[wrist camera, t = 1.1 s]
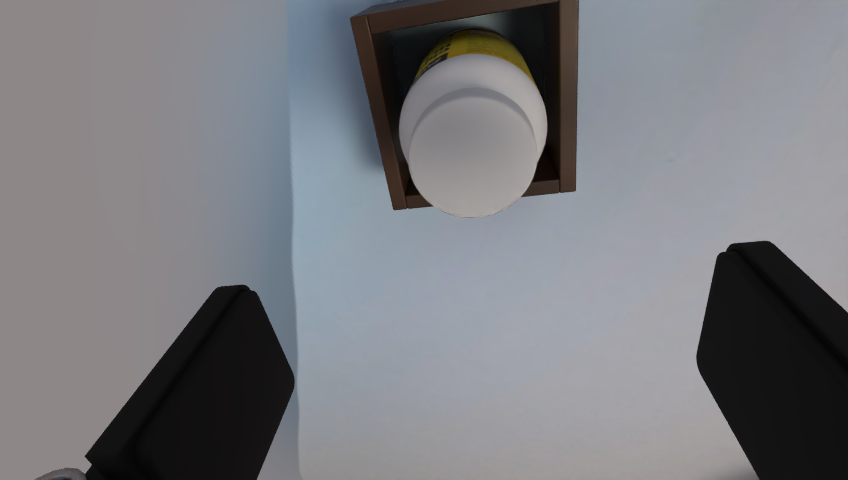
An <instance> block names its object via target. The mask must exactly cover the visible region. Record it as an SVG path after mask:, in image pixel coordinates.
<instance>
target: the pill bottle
mask: <svg viewBox="0 0 848 480" xmlns="http://www.w3.org/2000/svg"><path fill="white" fill-rule="evenodd" d="M546 136H547V116H546V110H545V106H544V103H543V100H542V97H541V95H540V92H539V90H538V88H537V86H536V84H535V82H534V80H533V77H532V75H531V73H530V71H529V69H528V67H527V64H526V62H525V60H524V58H523V56H522V55H521V53H520V52H519V50H518V49H517V47H516V46H515V45H514V44H513V43H512V42H511V41H510V40H509V39H507V38H506V37H504V36H503V35H501V34H500V33H498V32H496V31H493V30H490V29H486V28H480V27H470V28H463V29H459V30H456V31H454V32H451V33H449V34H448V35H446V36H444V37H443V38H441V39H440V40H439V41H438V42H437V43H435V44H434V45H433V47H432V48H431V49H430V50H429V51H428V53H427V54H426V56H425V57H424V59H423V61H422V63H421V65H420V67H419V70H418V72H417V74H416V77H415V79H414V81H413V83H412V85H411V87H410V90H409V92H408V94H407V96H406V98H405V100H404V103H403V105H402V110H401V115H400V122H399V137H400V143H401V147H402V151H403V154H404V156H405V159H406V161H407V163H408V166H409V171H410V175H411V178H412V180H413V183H414V185H415V186H416V188H417V190H418V191H419V193H420V194H421V195H422V196H423V197H424V198H425V199H426V200H427V201H428V202H429V203H430V204H431V205H433V206H434V207H436V208H437V209H439V210H441V211H443V212H445V213H448V214H450V215H454V216H459V217H467V218H476V217H484V216H489V215H492V214H495V213H497V212H500V211H502V210H504V209H506V208H507V207H509V206H511V205H512V204H513V203H515V202H516V201H517V200H518V199H519V198H520V197H521V196H522V195H523V194H524V192H525V191H526V190H527V188H528V187H529V185H530V183H531V181H532V179H533V177H534V174H535V170H536V166H537V162H538V160H539V158H540V156H541V154H542V151H543V149H544V145H545V141H546Z"/></svg>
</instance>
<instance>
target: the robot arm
mask: <svg viewBox="0 0 848 480" xmlns="http://www.w3.org/2000/svg"><path fill="white" fill-rule="evenodd" d="M696 358H697V366H698V369H699V372H700V374H701V376H702V378H703V379H704V381H705V383H706V385H707V387H708V388H709V390H710V392H711V394H712V395H713V397H714V399H715V401H716V403H717V404H718V406H719V408H720V410H721V412H722V413H723V415H724V417H725V419H726V420H727V422H728V424H729V426H730V428H731V429H732V431H733V433H734V435H735V437H736V438H737V440H738V442H739V444H740V445H741V447H742V449H743V451H744V453H745V454H746V456H747V458H748V460H749V461H750V463H751V465H752V467H753V469H754V470H755V472H756V474H757V476H758V478H759V479H760V480H848V312H846V311H845V310H844V309H843V308H842V307H841V306H840V305H839V304H838V303H837V302H836V301H835V300H833V299H832V298H831V297H830V296H829V295H828V294H827V293H826V292H825V291H824V290H823V289H822V288H821V287H819V286H818V285H817V284H816V283H815V282H814V281H813V280H812V279H811V278H810V277H809V276H808V275H807V274H805V273H804V272H803V271H802V270H801V269H800V268H799V267H798V266H797V265H796V264H795V263H794V262H792V261H791V260H790V259H789V258H788V257H787V256H786V255H785V254H784V253H783V252H782V251H781V250H780V249H778V248H777V247H776V246H775V245H774V244H773V243H771V242H770V241H757V242H745V243H733V244H731V245H730V246H729V247H728V248H727V250H726V252H721V253H719V255H718V256H717V259H716V264H715V269H714V273H713V278H712V283H711V288H710V292H709V297H708V302H707V307H706V312H705V316H704V321H703V326H702V331H701V336H700V340H699V345H698V350H697V356H696ZM294 383H295V381H294V375H293V372H292V370H291V368H290V365H289V363H288V361H287V359H286V356H285V354H284V352H283V350H282V348H281V345H280V343H279V341H278V339H277V336H276V334H275V332H274V330H273V328H272V325H271V323H270V321H269V319H268V316H267V314H266V312H265V310H264V307H263V305H262V303H261V301H260V298H259V296H258V295H257V293H256V292H255V291H251V290H250V289H249V287H247V286H246V285H234V286H222V287H218V288H216V289H215V290H214V291H213V292H212V294H211V295H210V296H209V298H208V299H207V300H206V301H205V303H204V304H203V305H202V307H201V308H200V309H199V310H198V312H197V313H196V314H195V316H194V317H193V318H192V319H191V321H190V322H189V323H188V324H187V326H186V327H185V328H184V330H183V331H182V332H181V333H180V335H179V336H178V337H177V339H176V340H175V341H174V343H173V344H172V345H171V346H170V347H169V349H168V350H167V351H166V353H165V354H164V355H163V357H162V358H161V359H160V360H159V362H158V363H157V364H156V366H155V367H154V368H153V369H152V371H151V372H150V373H149V374H148V376H147V377H146V379H145V380H144V381H143V382H142V383H141V385H140V386H139V387H138V389H137V390H136V391H135V392H134V394H133V395H132V396H131V398H130V399H129V400H128V401H127V403H126V404H125V405H124V407H123V408H122V409H121V411H120V412H119V413H118V414H117V416H116V417H115V418H114V419H113V421H112V422H111V423H110V424H109V426H108V427H107V428H106V430H105V431H104V432H103V433H102V435H101V436H100V437H99V439H98V440H97V441H96V442H95V444H94V445H93V446H92V448H91V449H90V450H89V451H88V453H87V454H86V455H85V457H86V458H87V460H88V461H89V462H90V463H91V464H92V466H91V467H90V469H89V470H88V471H87V472H86V474H84V473H83V472H81V471H80V470H79V469H74V468H64V469H59V470H55V471H52V472H50V473H48V474H45V475H43V476H41V477H39V478H37V479H35V480H257V477H258V475H259V473H260V470H261V468H262V465H263V463H264V460H265V458H266V456H267V453H268V450H269V448H270V446H271V443H272V441H273V438H274V436H275V434H276V431H277V429H278V426H279V424H280V422H281V419H282V416H283V414H284V412H285V409H286V407H287V404H288V402H289V400H290V397H291V395H292V392H293V389H294Z"/></svg>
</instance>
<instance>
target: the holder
mask: <svg viewBox="0 0 848 480" xmlns="http://www.w3.org/2000/svg"><path fill="white" fill-rule="evenodd" d="M538 5H543V36H544V82H545V110H546V116H547V136H546V145H544V149H543V151H542V154H541V156H540V158H539V160H538V162H537V166H536V170H535V174H534V177H533V179H532V181H531V183H530V185H529V187H528V188H527V190H526V191H525V192H524V194H523V195H522V196H521V197H526V196H535V195H545V194H554V193H559V192H560V193H564V192H573V191H576V147H577V83H578V19H579V0H403V1H397V2H392V3H386V4H381V5H375V6H371V7H369V8H367V9H366V10H364V11H362V12H360V13H358V14H356V15H354V16H352V17H351V18H350V21H351V26H352V30H353V34H354V39H355V43H356V48H357V52H358V56H359V61H360V65H361V70H362V74H363V78H364V83H365V87H366V92H367V96H368V100H369V105H370V109H371V114H372V118H373V122H374V127H375V131H376V136H377V140H378V145H379V149H380V153H381V158H382V162H383V167H384V171H385V175H386V180H387V184H388V189H389V193H390V197H391V202H392V206H393V209H394V210H402V209H407V208H408V209H412V208H421V207H431V206H433V205H431V204H430V203H429V202H428V201H427V200H426V199H425V198H424V197H423V196H422V195H421V194H420V193H419V191H418V190H417V188H416V186H415V185H414V183H413V180H412V178H411V175H410V171H409V166H408V163H407V161H406V159H405V156H404V154H403V151H402V147H401V143H400V137H399V122H400V115H401V110H402V105H403V103H404V102H403V97H402V92H401V86H400V81H399V75H398V70H397V65H396V59H395V54H394V49H393V43H392V38H391V33H390V31H393V30H398V29H404V28H410V27H416V26H422V25H428V24H433V23H439V22H445V21H451V20H457V19H462V18H468V17H474V16H480V15H486V14H492V13H497V12H503V11H509V10H515V9H521V8H527V7H532V6H538Z"/></svg>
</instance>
